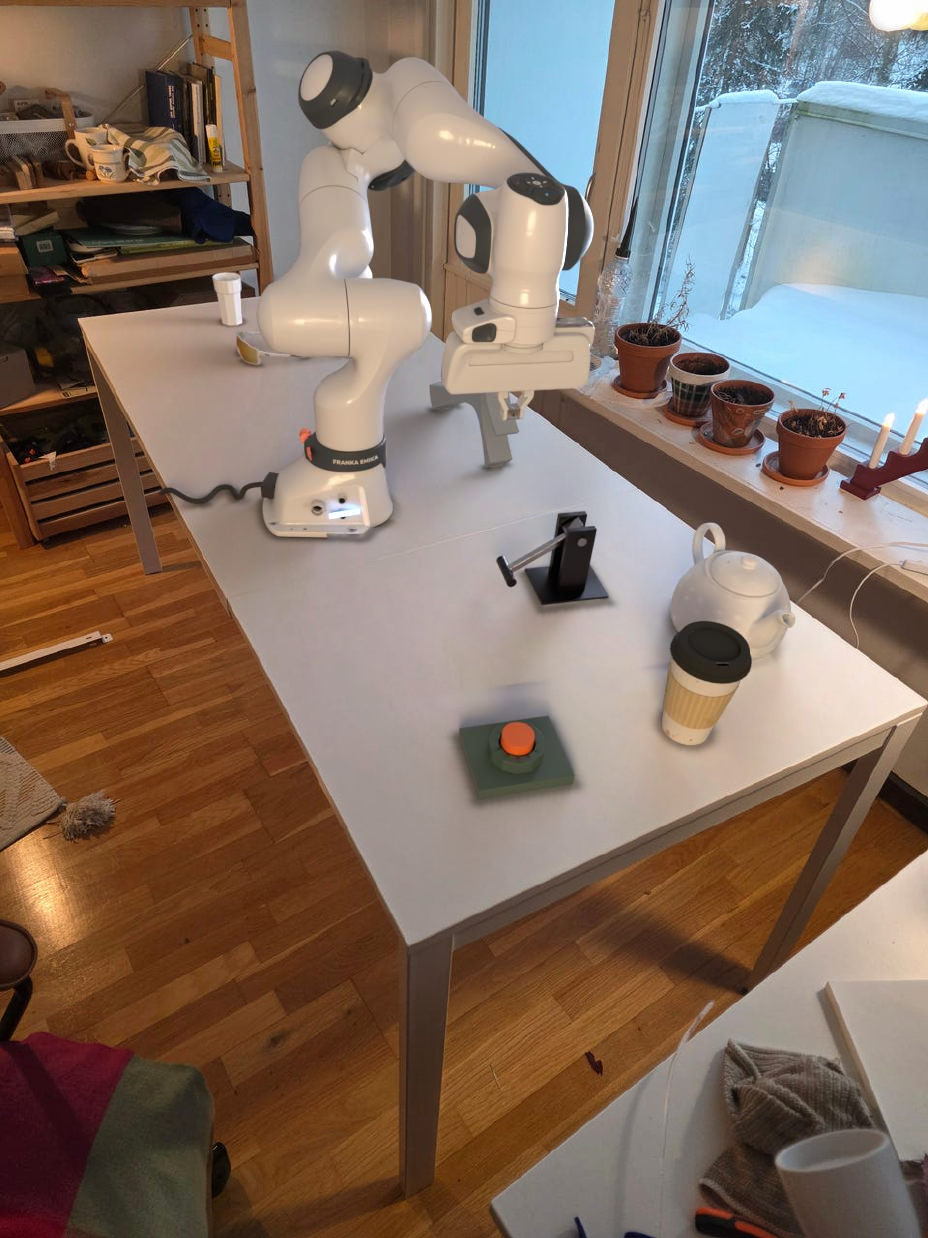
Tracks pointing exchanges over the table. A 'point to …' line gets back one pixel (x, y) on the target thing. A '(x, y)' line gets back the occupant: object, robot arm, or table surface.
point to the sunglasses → (253, 349)
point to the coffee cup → (702, 679)
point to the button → (517, 739)
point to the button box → (514, 760)
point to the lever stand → (569, 566)
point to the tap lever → (532, 555)
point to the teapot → (733, 594)
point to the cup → (229, 297)
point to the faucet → (482, 420)
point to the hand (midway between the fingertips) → (511, 418)
